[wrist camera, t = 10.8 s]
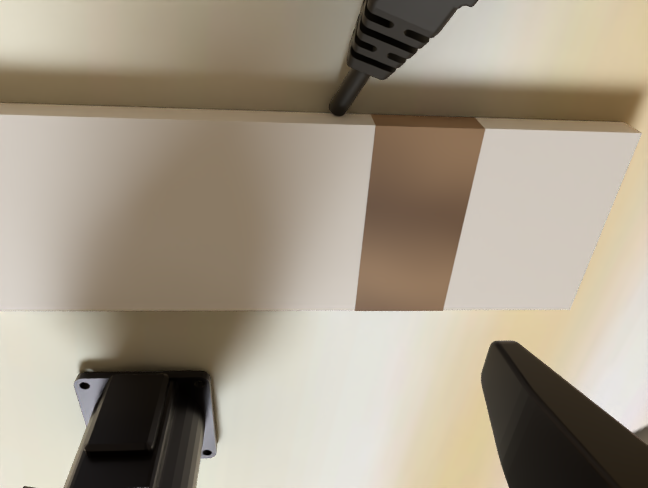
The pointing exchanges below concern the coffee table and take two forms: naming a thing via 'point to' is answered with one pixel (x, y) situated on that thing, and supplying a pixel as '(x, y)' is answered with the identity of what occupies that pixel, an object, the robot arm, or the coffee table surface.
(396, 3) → the power plug
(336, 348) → the coffee table surface
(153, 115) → the board
